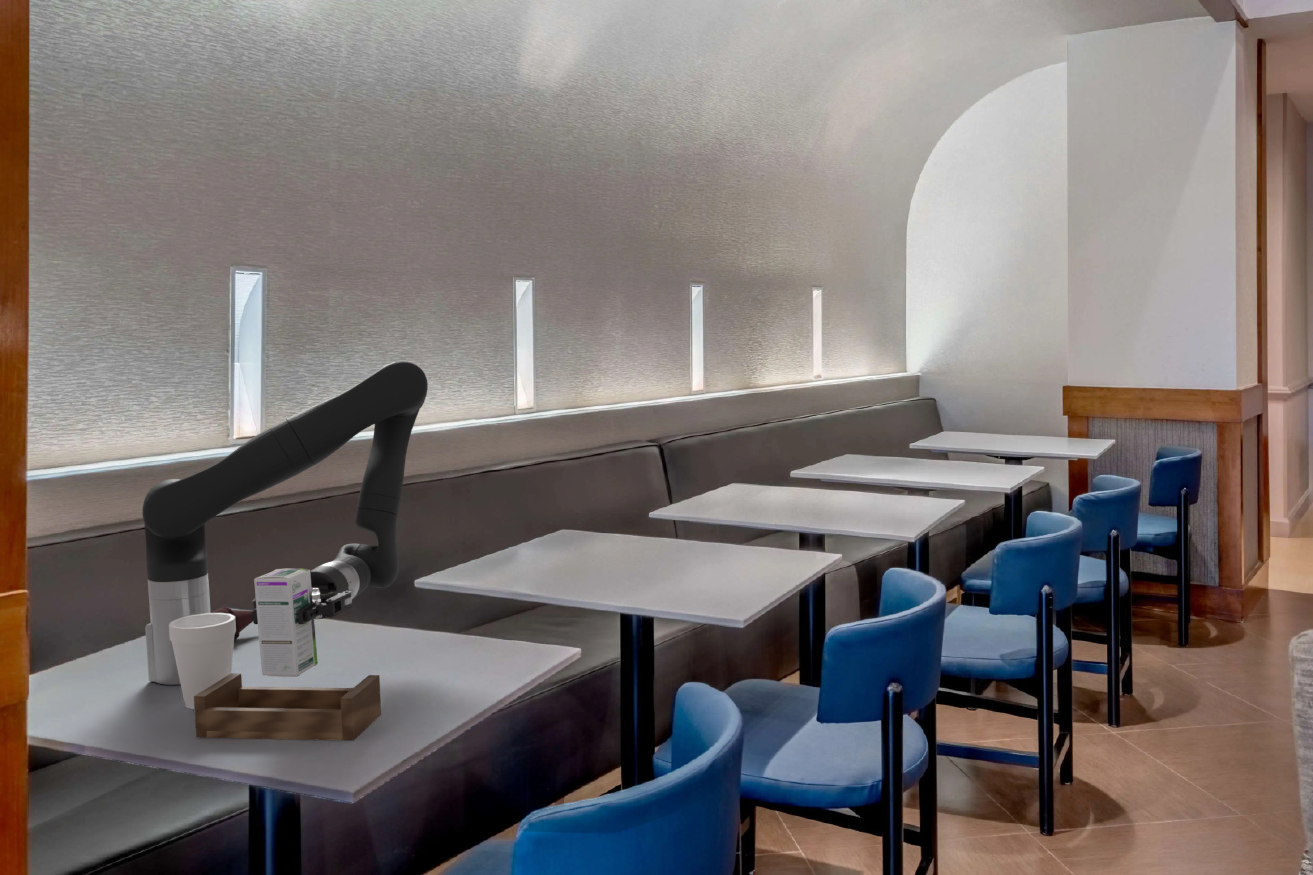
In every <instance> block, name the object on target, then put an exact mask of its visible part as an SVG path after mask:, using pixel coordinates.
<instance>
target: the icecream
mask: <svg viewBox="0 0 1313 875" xmlns="http://www.w3.org/2000/svg"><path fill="white" fill-rule="evenodd" d="M251 611H252V610H243V609H242V610H241V609H239V610H238V609H237V610H235V609H231V608H230V607H227V606H225V605H222V606H221V607H219V608H217V609H215V610H214V611H212V612H211V613H226V614H231V615H234V616H235V622H236V632H235V634H234V642H235V641H236V640H238V638H239V637H240V634H241V632H242V631H243V630H245V629H246V628H247V627H248V626H249V625H251V624H252V623H253V621H252V613H251Z"/></svg>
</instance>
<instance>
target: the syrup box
mask: <svg viewBox="0 0 1313 875" xmlns="http://www.w3.org/2000/svg"><path fill="white" fill-rule="evenodd" d="M310 571H311V570H310V569H309V568H301V567H300V568H297V567H291V568H290V567H289V568H275V569H274V570H273V571H271V572H268V573H267V572H266V573H265V574H262V575H261V576H260V575H259V576H257V577H255V578H254V579H253V582H254V594H255V599H256V607H257V619H258V624H257V629H258V640H259V649H260V650H259V651H260V654H259V655H260V662H261V663H260V664H261V674H262V676H267V677H279V678H280V677H281V678H287V677H288V678H298V677H299V676H300V675H302V674H303V673H305V672H306V671H308V670H310V669H312V668H314V667H316V666H317V665H318V663H319V662H318V649H317V639H316V627H315V626H316V625H315V619H312V620H310V621H309V622H307V623H306V624H299V623H298V610H299V609H300V608H302V607H303V606H305V605H307V604H308V603H312V587H311V575H310Z"/></svg>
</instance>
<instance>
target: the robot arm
mask: <svg viewBox="0 0 1313 875" xmlns="http://www.w3.org/2000/svg"><path fill="white" fill-rule="evenodd" d="M428 388H429V384H428V379H427V376H426V373H425V372H424V370H423V369H422V368H421V367H420V366H419V365H417V364H416V363H413V362H409V361H404V360H403V361H394V362H390V363H388V364H385V365H384V366H382V367H381V368H380V369H378V370H377V371H375V372H373V374H371V375H370V376H368V377H366V378H365V379H363V380H362V381H360V382H359V383H357V384H356V385H354V386H352V387H351V388H349V389H347V390H345V391H343V392H342V393H340V394H338V395H336V396H334V397H332V398H329V399H327V400H324V401H322V402H320V403H318V404H316V405H313V406H311V407H309V408H306V409H304V410H303V411H302V410H301V411H300V412H298V413H296V414H294V415H291V416H289V417H288V418H286V419H283V420H282V421H280V422H278V423H277V424H274V425H273V426H270V427H268V428H266V429H265V430H263V431H261V432H260V433H258V434H257V435H255V436H253V437H252V438H250V439H248V440H247V441H246V442H245V443H243V444H242V445H241V446H239V447H237V448H236V449H235V450H234V451H232V452H231V453H230V454H228V455H226V457H224V458H223V459H221V460H220V461H218V462H217V463H215V464H213V465H211V466H208V467H206V468H205V469H203V470H200V471H198V472H196V473H194V474H191V475H189V476H187V477H184V478H182V479H180V478H179V479H178V478H172V479H170V478H168V479H165V480H163V481H160V482H158V483H156V484H154V486H152V487H151V488H150V489H149V491H148V492H147V493H146V495H145V497H144V500H143V504H142V510H141V511H142V520H143V523H144V536H145V537H144V538H145V553H146V554H145V559H146V576H147V589H148V600H149V601H148V602H149V603H148V604H149V616H150V622H149V623H147V624H146V625H145V627H144V628H145V643H146V657H147V658H146V660H147V673H148V681H149V682H154V683H157V684H159V685H166V686H167V685H181V684H180V679H179V674H178V670H177V665H176V660H175V655H174V651H173V646H172V641H170V635H169V624H170V623H171V622H172V621H174V620H176V619H179V618H182V617H187V616H191V615H198V614H205V613H212V612H211V600H210V599H211V598H210V584H209V581H210V580H209V573H208V572H209V570H208V569H209V568H208V552H207V550H208V548H207V542H206V541H207V540H206V525H205V524H206V523H208V522H209V521H211V520H212V519H214V518H215V517H216V516H218V515H219V514H221V513H223V512H225V511H226V510H228V509H229V508H230V507H231V508H232V507H233V506H234V505H236V504H237V503H239V502H242V500H245V499H247V498H250V497H252V496H255V495H257V494H259V493H262V492H265V491H266V490H268V489H271V488H273V487H274V486H277V485H279V484H281V483H283V482H285V481H287V480H289V479H291V478H293V477H295V476H298V475H299V474H301V473H303V472H306V470H308V469H311V468H312V467H313V466H316V465H317V464H319V463H321V462H323V461H324V460H325V459H327V458H328V457H330V456H331V455H332V454H334V453H335V452H336V451H337V450H339V449H340V448H341V447H343V446H344V445H345V444H346V443H348V442H349V441H350V440H352V439H353V438H355V437H356V436H357V435H358V434H359V433H361V432H363V431H364V430H365V429H368V428H369V427H371V426H373V425H374V426H373V427H374V429H373V436H372V443H371V447H370V452H369V457H368V458H367V459H368V460H367V463H366V467H365V470H364V475H363V479H362V482H361V486H360V491H359V495H358V496H359V497H358V501H357V505H356V506H357V507H356V512H355V516H354V518H355V519H354V523H355V526H356V527H357V528H359V529H360V530H363V531H365V532H368V533H371V534H374V535H375V536H376V538H377V545H374V544H373V545H372V544H365V543H364V544H363V543H355V542H354V543H348V544H344V545H343V546H341V547H340V549H339V550H338V552H337V554H336V556H335V558H334V559H333V560H331V561H328V562H325V563H322V564H321V565H318V566H316V567H315V568H313V569H311V570H310V575H311V587H312V603H308V604H307V605H305V606H303V607H302V608H300V609H299V610H298V623H299V624H306V623H307V622H309V621H310V620H312V619H314V620H322V619H325V618H329V619H332V618H333V617H336V616H338V615H340V614H342V613H344V612H346V611H348V610H350V609H352V608H353V599H355V598H356V597H358V596H360V594H362V593H363V592H364V591H365V590H366V589H367V588H368V587H371V588H377V589H379V588H380V589H384V588H388V587H390V586H391V585H392V584H393V583H394V581H395V580H396V578H397V577H398V574H399V570H400V569H399V568H400V566H399V554H398V553H399V552H398V542H397V522H398V515H399V510H400V505H401V499H402V494H403V493H402V492H403V488H404V479H405V478H404V477H405V469H406V458H407V452H408V448H409V447H408V446H409V442H410V440H411V439H410V437H411V435H412V434H411V433H412V431H413V428H414V426H415V423H416V420H417V417H418V414H419V412H420V410H421V408H422V407H423V405H424V403H425V401H426V398H427V394H428ZM250 611H251V613H252V621H253V622H252V623H253V624H254V625H258V619H257V607H256V598H254V599H253V600H252V609H251V610H250Z"/></svg>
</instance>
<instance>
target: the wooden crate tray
mask: <svg viewBox="0 0 1313 875" xmlns="http://www.w3.org/2000/svg"><path fill="white" fill-rule="evenodd" d="M242 679H243V678H242V673H240V672H239V673H238V672H237V673H234V672H233V673H232V672H231V674H229V675H228V676H226V677H225V678H223V679H221V680H220V681H218V682H216V683H215V684H213V685H211V686H210V687H208V688H206V689H205V690H203V691H202V692H200V693H198V694H197V695H195V696H194V708H195V709H194V719H195V735H196V736H195V738H196V737H202V738H206V737H207V738H206V739H211V738H212V739H248V740H250V739H253V740H255V739H257V740H258V739H260V740H298V741H299V740H301V741H302V740H304V741H305V740H307V741H309V740H311V741H350V742H351V741H355V740H356V739H357V738H358V737H359V736H360V735H361V734H362V733H364V732H365V731H366V730H367V729H368V728H369V726H371V725H372V724H373V723H374V722H375V721H376V720H377V719H378V718H379V717H380V716H381V715H382V703H381V699H382V698H381V683H380V682H381V680H380V679H381V678H380V674H369V675H367V676H366V677H365V678H364V679H362V680H361V681H360V682H359V683H357V684H356V685H355V686H354V687H319V686H318V687H315V686H314V687H312V686H311V687H310V686H309V687H308V686H307V687H304V686H303V687H302V686H299V687H298V686H243V680H242ZM208 737H209V738H208Z"/></svg>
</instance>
